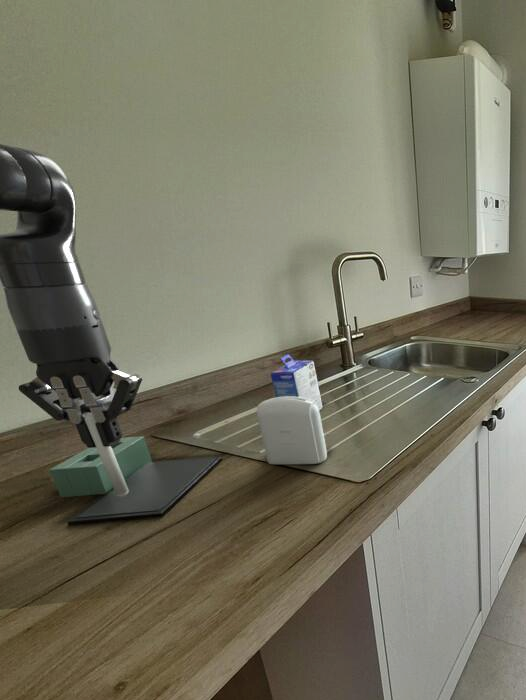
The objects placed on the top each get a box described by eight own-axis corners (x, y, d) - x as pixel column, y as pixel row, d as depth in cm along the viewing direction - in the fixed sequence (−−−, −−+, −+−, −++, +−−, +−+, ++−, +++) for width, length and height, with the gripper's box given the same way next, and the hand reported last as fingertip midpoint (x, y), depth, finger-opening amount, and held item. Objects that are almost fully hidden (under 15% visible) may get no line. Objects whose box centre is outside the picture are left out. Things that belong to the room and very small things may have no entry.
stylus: (114, 499, 59) (79, 415, 54) (121, 493, 61) (88, 411, 56) (125, 498, 59) (91, 414, 55) (132, 492, 61) (99, 410, 56)
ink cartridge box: (300, 408, 99) (289, 350, 95) (323, 408, 99) (313, 350, 95) (279, 425, 90) (266, 361, 85) (305, 424, 90) (293, 361, 85)
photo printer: (263, 466, 73) (249, 401, 69) (277, 454, 77) (264, 393, 73) (320, 466, 73) (309, 401, 69) (331, 454, 77) (321, 393, 73)
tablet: (68, 525, 58) (66, 521, 57) (149, 465, 74) (148, 461, 73) (162, 517, 59) (161, 512, 59) (222, 460, 75) (221, 456, 75)
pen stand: (60, 497, 64) (48, 469, 63) (113, 463, 74) (104, 438, 73) (106, 493, 65) (96, 466, 64) (152, 460, 75) (144, 436, 74)
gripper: (-36, 329, 47) (23, 462, 53) (97, 324, 49) (140, 453, 55) (26, 319, 54) (72, 436, 60) (140, 315, 56) (175, 429, 62)
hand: (105, 444), depth 57 cm, fingers closed on stylus, 1 cm apart
